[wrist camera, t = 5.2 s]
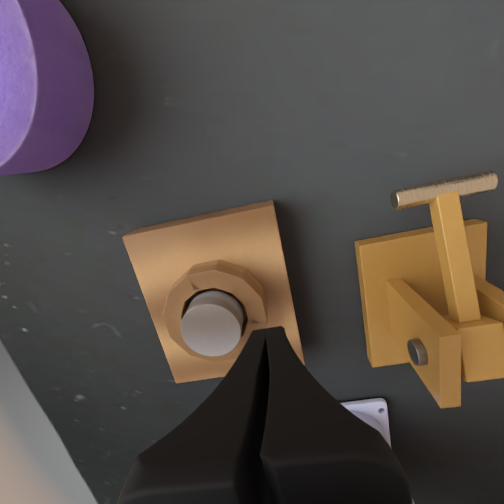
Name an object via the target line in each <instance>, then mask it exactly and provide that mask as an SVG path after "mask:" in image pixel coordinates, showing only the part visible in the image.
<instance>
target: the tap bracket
mask: <svg viewBox="0 0 504 504" xmlns="http://www.w3.org/2000/svg"><path fill="white" fill-rule="evenodd" d="M464 227H465V232H466V238H467V243H468V249H469V254H470V260H471V265H472V271H473V276H474V282H475V287H476V293H477V298H478V304H479V309H480V314H481V315H483V316H486V317H489V318H492V319H494V320H497V321H500V322H502V323H503V326H504V291H503V290H501V289H499V288H497V287H496V286H494V285H492V284H491V283H489V282H487V281H486V250H487V222H484V221H481V220H478V219H470V220H465V221H464ZM355 250H356V259H357V268H358V277H359V285H360V294H361V303H362V312H363V320H364V329H365V338H366V347H367V356H368V359H369V361H370V363H371V365H372V367H380V366H387V365H394V364H402V363H409V362H410V364H411V365H412V366H413V368H414V369H415V371H416V372H417V374H418V375H419V377H420V378H421V380H422V381H423V383H424V384H425V385H426V387H427V388H428V390H429V391H430V393H431V394H432V396H433V397H434V399H435V400H436V402H437V403H438V405H439V406H440V407H441V408H449V407H457V406H461V334H460V333H459V332H458V331H457V330H456V329H455V328H454V327H453V326H452V325H451V324H450V323H449V322H447V321H446V320H445V319H444V318H443V317H442V316H446V315H449V310H448V305H447V299H446V294H445V288H444V283H443V277H442V272H441V266H440V261H439V256H438V250H437V245H436V239H435V234H434V228H433V227H427V228H422V229H417V230H412V231H406V232H401V233H396V234H390V235H385V236H380V237H374V238H369V239H364V240H358V241H355Z"/></svg>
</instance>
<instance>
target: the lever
mask: <svg viewBox="0 0 504 504" xmlns="http://www.w3.org/2000/svg"><path fill="white" fill-rule="evenodd" d="M497 185H498V177H497V175H496V173H495V172H493V171H485V172H480V173H475V174H470V175H465V176H460V177H455V178H450V179H445V180H441V181H436V182H431V183H426V184H421V185H416V186H411V187H406V188H402V189H397V190H393V191H392V192H391V204H392V206H393V208H394V209H403V208H408V207H413V206H418V205H423V204H428V203H429V207H430V212H431V218H432V223H433V228H434V234H435V239H436V245H437V250H438V256H439V261H440V266H441V272H442V277H443V283H444V288H445V294H446V299H447V305H448V310H449V315H446V316H442V317H443V318H444V319H445V320H446V321H447V322H449V323H450V324H451V325H452V326H453V327H454V328H455V329H456V330H457V331H458V332H459V333H460V334H461V378H462V379H463V380H464V381H466V382H475V381H482V380H490V379H498V378H504V326H503V323H502V322H500V321H497V320H494V319H492V318H489V317H486V316H483V315H481V314H480V309H479V304H478V298H477V293H476V287H475V282H474V276H473V271H472V265H471V260H470V254H469V249H468V243H467V238H466V232H465V227H464V221H463V216H462V210H461V205H460V199H459V197H463V196H468V195H474V194H479V193H484V192H489V191H493V190H494V189H495V188H496V187H497Z"/></svg>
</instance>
